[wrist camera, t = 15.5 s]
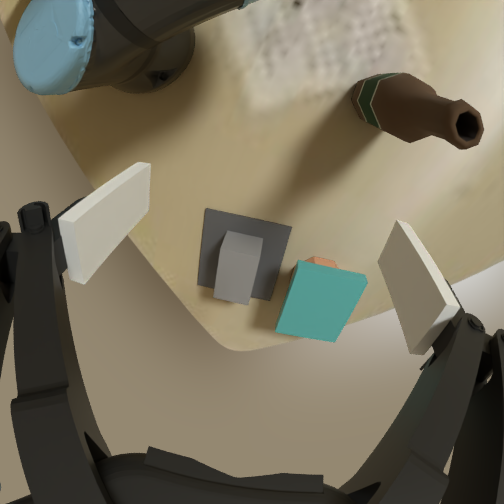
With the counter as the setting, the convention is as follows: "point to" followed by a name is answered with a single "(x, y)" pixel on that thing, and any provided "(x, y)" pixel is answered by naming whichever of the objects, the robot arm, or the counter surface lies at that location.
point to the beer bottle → (415, 110)
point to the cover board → (319, 301)
